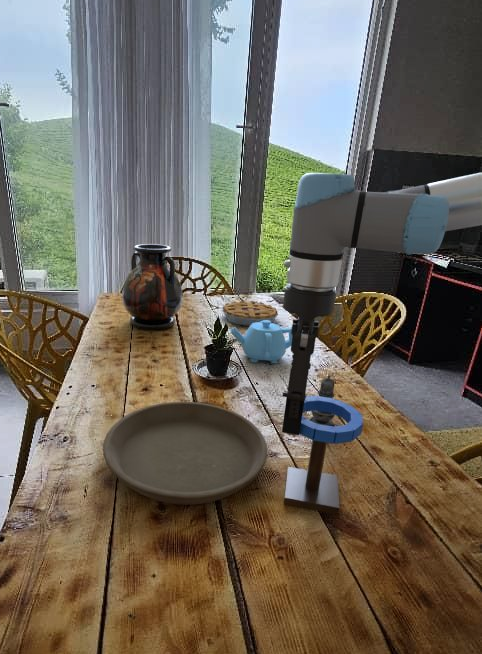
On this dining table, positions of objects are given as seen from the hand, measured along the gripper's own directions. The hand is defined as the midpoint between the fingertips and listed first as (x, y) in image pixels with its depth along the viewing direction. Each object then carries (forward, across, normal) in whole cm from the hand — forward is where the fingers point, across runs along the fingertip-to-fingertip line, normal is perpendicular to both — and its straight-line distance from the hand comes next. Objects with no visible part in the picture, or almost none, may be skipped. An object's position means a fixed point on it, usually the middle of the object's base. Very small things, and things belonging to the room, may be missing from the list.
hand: (292, 417), depth 74 cm
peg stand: (+14, 0, +5) cm, 15 cm away
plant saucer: (+15, -3, -19) cm, 24 cm away
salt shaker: (+15, -26, +7) cm, 31 cm away
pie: (+15, -100, -20) cm, 103 cm away
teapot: (+15, -61, -11) cm, 64 cm away
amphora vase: (+15, -80, -53) cm, 97 cm away
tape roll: (0, 0, +5) cm, 5 cm away
